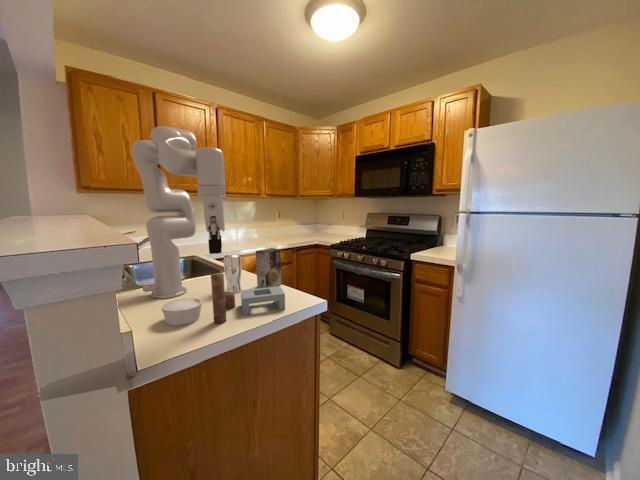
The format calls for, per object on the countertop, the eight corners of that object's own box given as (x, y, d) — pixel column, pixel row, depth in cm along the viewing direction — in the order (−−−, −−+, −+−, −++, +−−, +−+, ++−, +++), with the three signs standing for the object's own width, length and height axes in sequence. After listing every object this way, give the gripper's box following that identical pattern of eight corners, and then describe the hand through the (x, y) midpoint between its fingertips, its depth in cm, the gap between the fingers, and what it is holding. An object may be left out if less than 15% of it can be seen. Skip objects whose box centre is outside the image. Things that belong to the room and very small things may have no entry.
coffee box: (272, 282, 124) (271, 247, 122) (282, 284, 120) (281, 249, 118) (256, 286, 117) (254, 250, 115) (266, 289, 113) (264, 252, 111)
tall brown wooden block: (213, 324, 81) (210, 276, 79) (214, 320, 84) (211, 273, 82) (226, 323, 82) (223, 275, 80) (226, 318, 85) (223, 272, 83)
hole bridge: (243, 315, 88) (242, 298, 87) (241, 305, 96) (240, 290, 95) (285, 309, 92) (284, 293, 92) (280, 300, 101) (279, 286, 100)
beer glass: (224, 294, 108) (222, 257, 106) (226, 289, 114) (224, 254, 112) (242, 293, 109) (240, 257, 107) (243, 287, 116) (241, 253, 114)
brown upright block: (224, 310, 92) (223, 296, 91) (224, 306, 96) (223, 292, 95) (235, 308, 93) (234, 294, 93) (235, 304, 97) (234, 291, 96)
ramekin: (208, 319, 85) (207, 303, 84) (168, 331, 77) (167, 314, 76) (195, 309, 93) (194, 295, 92) (159, 319, 85) (157, 303, 84)
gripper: (225, 191, 71) (229, 254, 73) (225, 193, 87) (228, 245, 89) (194, 191, 68) (199, 256, 71) (200, 193, 85) (204, 247, 87)
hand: (216, 250), depth 80 cm, fingers open, 9 cm apart
